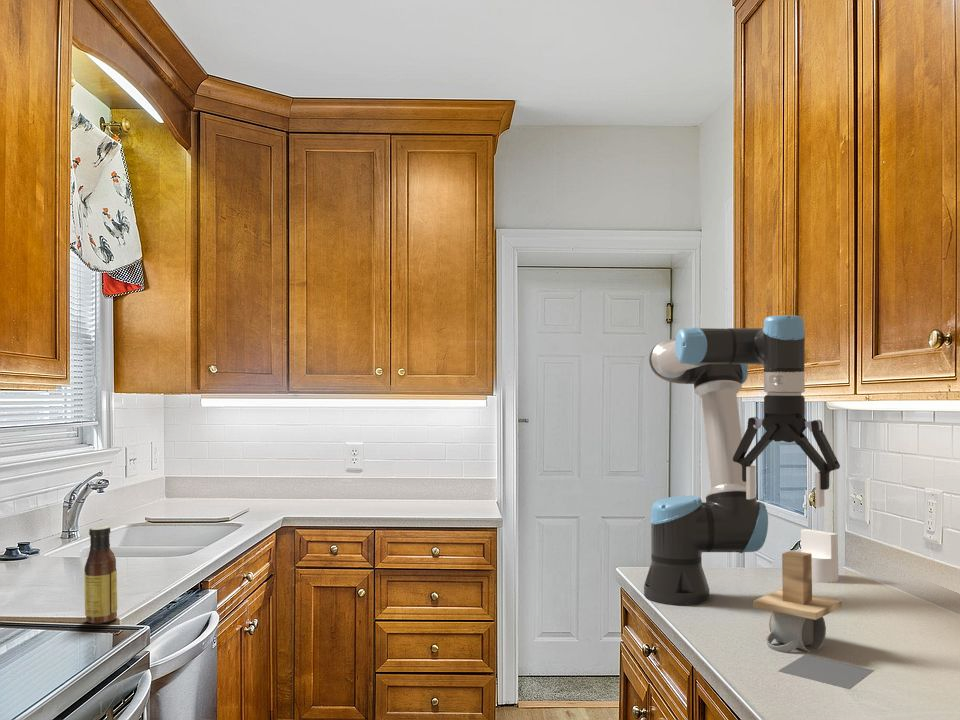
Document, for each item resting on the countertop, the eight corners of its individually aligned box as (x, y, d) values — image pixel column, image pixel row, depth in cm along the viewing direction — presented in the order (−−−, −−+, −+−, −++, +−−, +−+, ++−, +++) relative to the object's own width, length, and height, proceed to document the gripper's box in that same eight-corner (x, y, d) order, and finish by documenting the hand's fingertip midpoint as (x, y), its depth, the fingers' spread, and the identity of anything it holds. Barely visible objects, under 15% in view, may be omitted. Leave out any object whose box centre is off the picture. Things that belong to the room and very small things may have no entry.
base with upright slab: (845, 579, 209) (844, 532, 209) (826, 584, 204) (825, 536, 204) (813, 572, 216) (812, 527, 217) (793, 577, 211) (793, 531, 211)
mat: (805, 657, 150) (805, 654, 150) (874, 673, 141) (874, 670, 141) (777, 673, 141) (777, 670, 141) (849, 692, 133) (849, 688, 133)
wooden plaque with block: (781, 595, 164) (780, 544, 164) (841, 607, 155) (841, 553, 156) (753, 606, 155) (752, 553, 156) (815, 619, 147) (814, 563, 147)
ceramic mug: (790, 637, 161) (789, 598, 161) (827, 648, 154) (826, 608, 154) (755, 647, 155) (754, 607, 156) (792, 660, 148) (791, 618, 149)
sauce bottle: (105, 614, 176) (106, 523, 177) (123, 619, 173) (124, 525, 174) (77, 622, 171) (78, 527, 171) (95, 627, 168) (96, 530, 168)
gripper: (716, 393, 165) (716, 497, 164) (843, 396, 148) (844, 512, 148) (732, 392, 170) (732, 493, 170) (857, 395, 153) (857, 507, 153)
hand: (784, 502), depth 159 cm, fingers open, 13 cm apart
